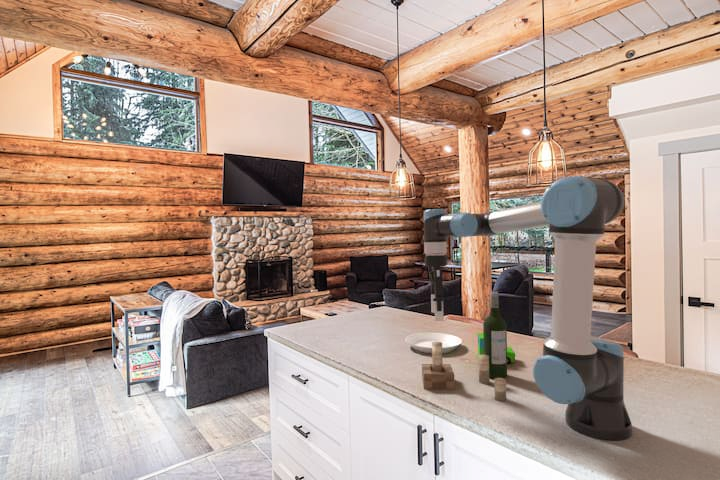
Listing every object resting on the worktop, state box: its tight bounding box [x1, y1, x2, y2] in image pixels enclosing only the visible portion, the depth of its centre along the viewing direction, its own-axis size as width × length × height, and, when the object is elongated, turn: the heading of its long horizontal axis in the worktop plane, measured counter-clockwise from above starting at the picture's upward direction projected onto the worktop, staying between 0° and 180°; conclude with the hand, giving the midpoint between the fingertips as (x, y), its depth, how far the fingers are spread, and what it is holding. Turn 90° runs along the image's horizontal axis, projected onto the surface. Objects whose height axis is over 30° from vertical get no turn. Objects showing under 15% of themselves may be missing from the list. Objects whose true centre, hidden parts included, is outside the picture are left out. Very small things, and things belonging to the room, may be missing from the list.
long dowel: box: [431, 342, 443, 371], centre depth 137 cm, size 3×3×14 cm
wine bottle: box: [482, 291, 508, 380], centre depth 143 cm, size 8×8×30 cm
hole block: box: [421, 363, 456, 390], centre depth 137 cm, size 10×10×5 cm
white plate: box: [405, 332, 463, 354], centre depth 180 cm, size 25×25×4 cm
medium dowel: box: [478, 355, 490, 385], centre depth 138 cm, size 3×3×9 cm
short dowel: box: [493, 378, 507, 402], centre depth 124 cm, size 3×3×6 cm
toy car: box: [477, 332, 516, 366], centre depth 159 cm, size 10×13×10 cm
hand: (437, 316), depth 137 cm, fingers open, 13 cm apart
